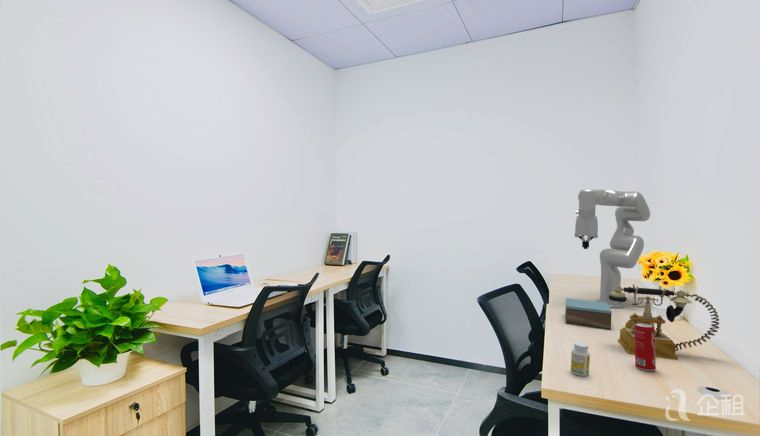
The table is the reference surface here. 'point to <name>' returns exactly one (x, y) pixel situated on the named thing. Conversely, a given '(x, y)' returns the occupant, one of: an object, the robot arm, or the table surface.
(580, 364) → the supplement bottle
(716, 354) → the table surface
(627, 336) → the rotary telephone
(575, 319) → the storage box
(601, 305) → the lid
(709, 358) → the table surface
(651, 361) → the beverage can
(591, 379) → the table surface
